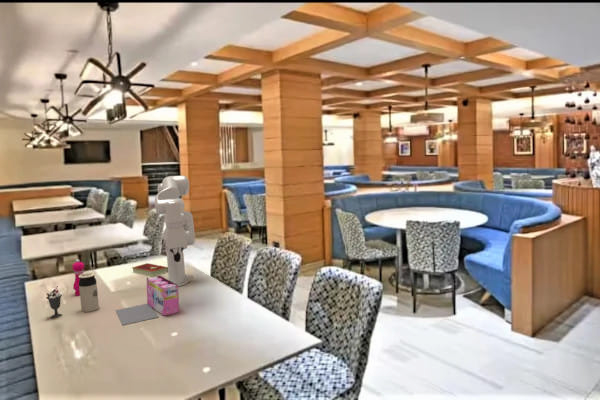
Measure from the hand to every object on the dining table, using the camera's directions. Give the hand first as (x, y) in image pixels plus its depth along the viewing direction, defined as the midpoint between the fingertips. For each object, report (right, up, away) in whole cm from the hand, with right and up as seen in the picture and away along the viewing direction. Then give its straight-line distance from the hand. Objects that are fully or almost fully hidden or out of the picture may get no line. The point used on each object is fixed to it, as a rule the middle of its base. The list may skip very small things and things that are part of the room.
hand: (177, 261), depth 220 cm
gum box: (-7, -23, -1) cm, 24 cm away
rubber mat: (-18, -24, -8) cm, 31 cm away
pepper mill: (-61, -22, +26) cm, 70 cm away
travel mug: (-44, -25, +1) cm, 51 cm away
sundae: (-57, -26, -6) cm, 63 cm away
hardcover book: (-35, -17, +64) cm, 75 cm away
